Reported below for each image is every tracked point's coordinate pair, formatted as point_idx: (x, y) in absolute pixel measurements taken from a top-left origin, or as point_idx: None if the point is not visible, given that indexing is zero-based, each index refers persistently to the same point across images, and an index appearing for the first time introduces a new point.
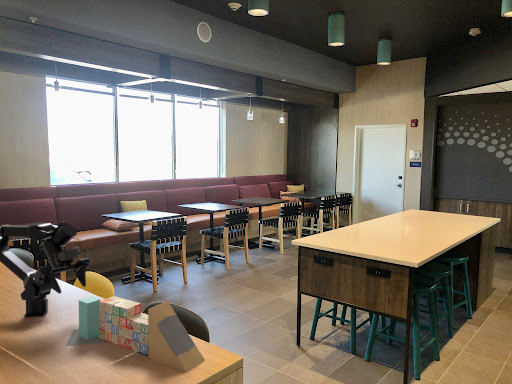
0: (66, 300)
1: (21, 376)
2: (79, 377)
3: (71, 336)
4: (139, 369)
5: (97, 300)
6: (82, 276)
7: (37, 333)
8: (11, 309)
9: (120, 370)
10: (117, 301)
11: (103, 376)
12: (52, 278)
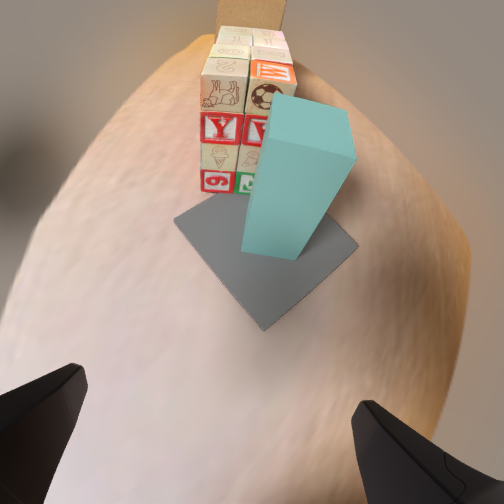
0: None
1: (453, 225)
2: (385, 140)
3: (310, 284)
4: (305, 85)
5: (288, 96)
6: (13, 426)
7: (352, 431)
8: None
9: (327, 102)
10: (254, 48)
11: (356, 114)
12: (488, 488)
